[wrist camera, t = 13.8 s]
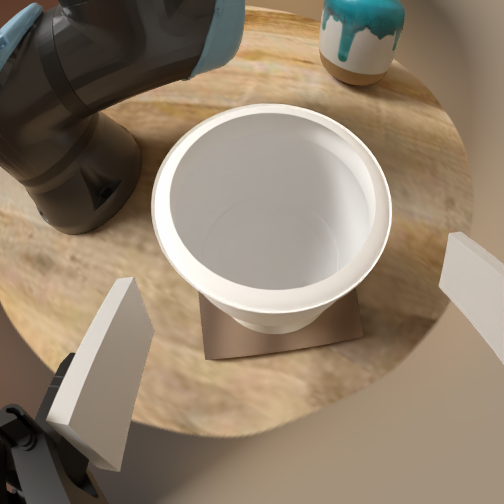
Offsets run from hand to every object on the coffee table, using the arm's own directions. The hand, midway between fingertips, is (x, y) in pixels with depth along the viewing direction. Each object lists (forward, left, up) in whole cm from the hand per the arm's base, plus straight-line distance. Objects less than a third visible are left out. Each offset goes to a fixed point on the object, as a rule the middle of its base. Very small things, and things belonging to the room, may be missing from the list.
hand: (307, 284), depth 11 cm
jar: (-1, +4, -15) cm, 15 cm away
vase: (+16, +32, -16) cm, 39 cm away
